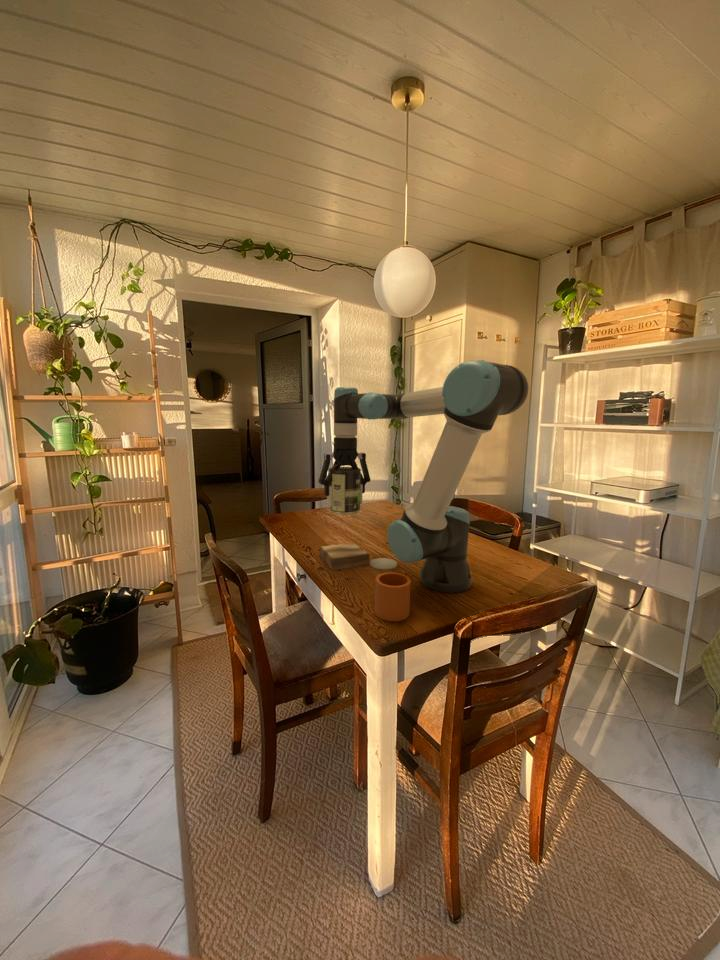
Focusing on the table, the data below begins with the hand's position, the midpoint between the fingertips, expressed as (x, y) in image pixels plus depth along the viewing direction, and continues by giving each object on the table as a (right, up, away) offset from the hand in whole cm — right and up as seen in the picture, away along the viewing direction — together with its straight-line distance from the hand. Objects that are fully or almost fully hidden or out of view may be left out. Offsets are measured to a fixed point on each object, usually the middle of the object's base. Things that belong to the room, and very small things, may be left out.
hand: (344, 504), depth 132 cm
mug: (+13, -25, -29) cm, 41 cm away
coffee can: (0, -2, 0) cm, 3 cm away
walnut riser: (0, -19, +3) cm, 20 cm away
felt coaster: (+13, -20, 0) cm, 24 cm away
